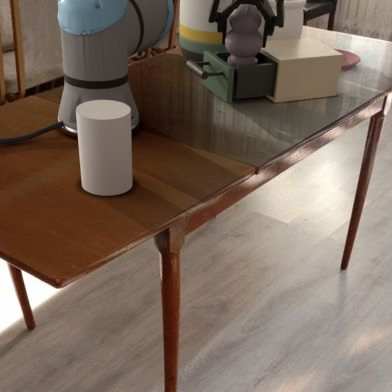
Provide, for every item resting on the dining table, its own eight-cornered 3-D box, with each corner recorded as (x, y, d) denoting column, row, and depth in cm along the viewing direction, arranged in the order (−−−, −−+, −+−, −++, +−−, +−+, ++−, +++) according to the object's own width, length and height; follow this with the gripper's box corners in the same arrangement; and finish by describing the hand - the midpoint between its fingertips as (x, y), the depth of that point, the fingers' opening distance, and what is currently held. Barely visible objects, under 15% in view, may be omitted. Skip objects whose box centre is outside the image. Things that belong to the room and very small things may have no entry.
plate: (290, 63, 155) (291, 54, 154) (321, 52, 164) (323, 44, 162) (339, 77, 148) (340, 68, 147) (369, 66, 157) (371, 57, 155)
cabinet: (274, 102, 134) (280, 60, 128) (245, 82, 143) (249, 41, 137) (336, 95, 139) (343, 54, 133) (304, 76, 148) (310, 37, 142)
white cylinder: (133, 173, 105) (131, 100, 97) (131, 196, 99) (129, 120, 91) (84, 172, 104) (78, 99, 96) (79, 194, 98) (72, 118, 90)
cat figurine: (228, 57, 137) (232, -5, 129) (263, 62, 135) (270, 0, 127) (219, 69, 130) (223, 4, 122) (256, 73, 129) (263, 9, 121)
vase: (259, 71, 150) (271, -47, 134) (193, 76, 144) (198, -45, 129) (230, 50, 161) (238, -60, 146) (168, 55, 156) (170, -59, 141)
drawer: (204, 105, 128) (206, 70, 124) (181, 85, 137) (182, 52, 132) (287, 96, 135) (291, 62, 130) (260, 77, 143) (263, 46, 139)
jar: (296, 61, 157) (305, -7, 147) (297, 74, 149) (307, 3, 140) (254, 57, 158) (260, -10, 148) (253, 70, 150) (259, 0, 140)
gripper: (191, -18, 110) (194, 53, 133) (308, -10, 109) (291, 60, 132) (195, -58, 110) (197, 19, 133) (311, -50, 110) (294, 26, 133)
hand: (244, 40), depth 133 cm, fingers closed on cat figurine, 8 cm apart
